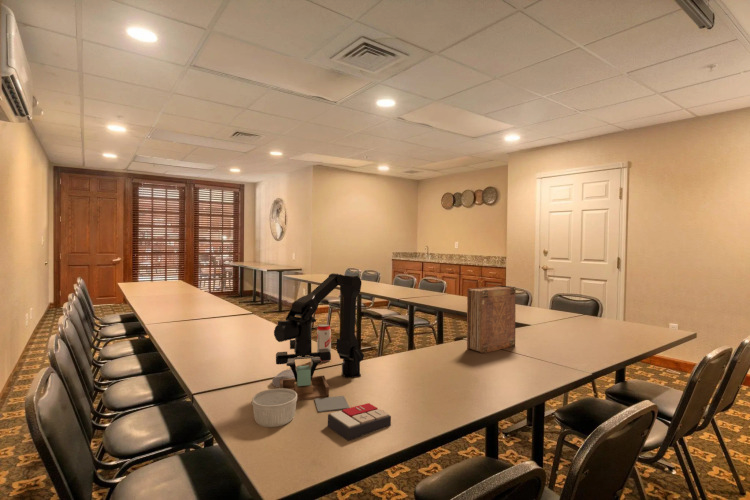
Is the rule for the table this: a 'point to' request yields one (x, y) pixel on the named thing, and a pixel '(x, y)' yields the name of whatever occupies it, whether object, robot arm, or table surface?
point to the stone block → (283, 377)
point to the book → (490, 318)
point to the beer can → (324, 338)
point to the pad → (331, 403)
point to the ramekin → (274, 407)
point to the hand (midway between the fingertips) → (303, 380)
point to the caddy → (308, 388)
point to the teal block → (303, 375)
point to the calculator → (358, 421)
